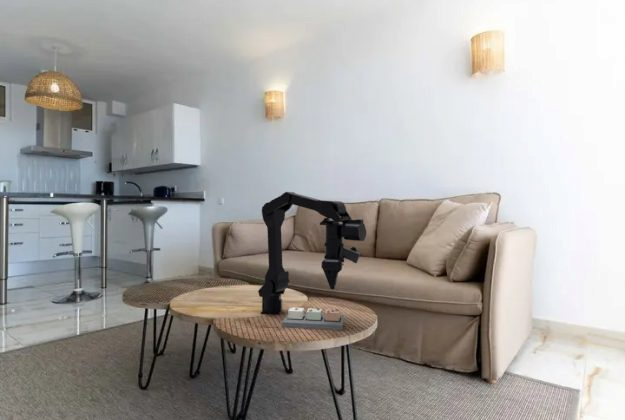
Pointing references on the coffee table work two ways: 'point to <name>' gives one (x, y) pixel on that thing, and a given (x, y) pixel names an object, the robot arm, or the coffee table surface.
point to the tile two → (314, 314)
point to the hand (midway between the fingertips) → (333, 287)
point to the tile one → (296, 313)
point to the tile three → (332, 315)
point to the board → (314, 323)
